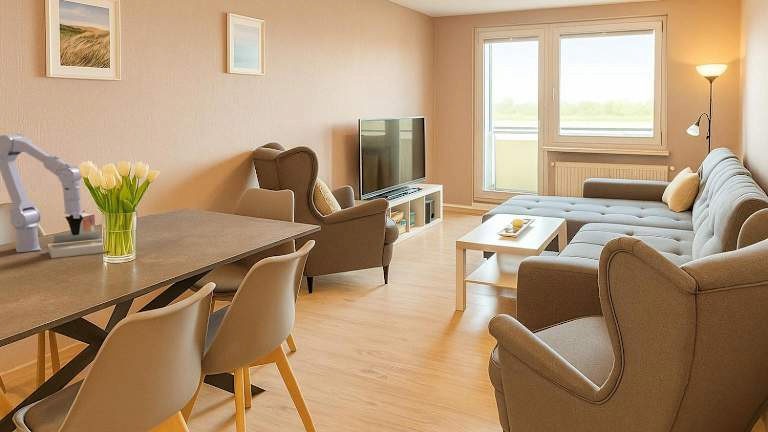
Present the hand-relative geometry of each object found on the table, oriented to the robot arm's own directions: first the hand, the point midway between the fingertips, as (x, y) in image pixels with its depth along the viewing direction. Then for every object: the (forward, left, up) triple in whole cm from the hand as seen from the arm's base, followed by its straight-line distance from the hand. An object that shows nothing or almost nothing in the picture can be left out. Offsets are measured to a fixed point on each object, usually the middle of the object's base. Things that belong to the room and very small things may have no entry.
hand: (75, 234), depth 241 cm
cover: (-2, +1, -2) cm, 3 cm away
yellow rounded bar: (0, +2, -5) cm, 5 cm away
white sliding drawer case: (0, +1, -7) cm, 7 cm away
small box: (-22, +6, -7) cm, 24 cm away
